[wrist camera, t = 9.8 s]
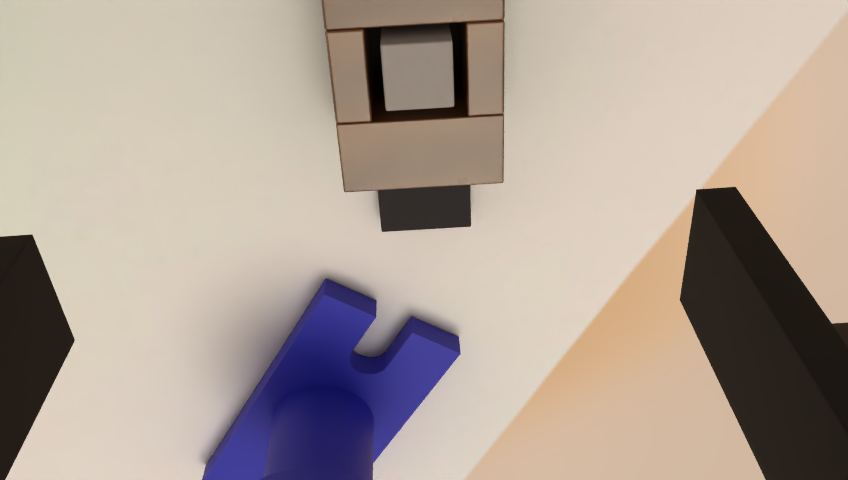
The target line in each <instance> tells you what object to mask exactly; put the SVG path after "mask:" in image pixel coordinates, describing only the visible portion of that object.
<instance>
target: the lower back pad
mask: <svg viewBox="0 0 848 480" xmlns="http://www.w3.org/2000/svg"><path fill="white" fill-rule="evenodd" d="M370 35H371V47H372V58H373V69H374V80H383V85H384V97H385V109H386V110H387V111H394V110H411V109H428V108H445V107H454V76H458V75H460V59H459V23H444V24H427V25H410V26H393V27H376V28H370ZM378 197H379V207H380V218H381V229H382V232H387V231H403V230H420V229H437V228H454V227H470V226H471V207H470V185H458V186H441V187H424V188H407V189H390V190H378Z"/></svg>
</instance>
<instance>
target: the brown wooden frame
mask: <svg viewBox="0 0 848 480" xmlns="http://www.w3.org/2000/svg"><path fill="white" fill-rule="evenodd" d="M321 1H322V9H323V18H324V26H325V29H326V32H325V34H326V43H327V51H328V59H329V68H330V76H331V85H332V93H333V102H334V110H335V118H336V122H337V123H336V128H337V136H338V144H339V153H340V161H341V170H342V178H343V186H344V192H356V191H373V190H390V189H407V188H424V187H441V186H458V185H475V184H492V183H503V173H504V114H503V113H504V20H503V19H504V8H505V0H321ZM444 23H459V59H460V75H458V76H454V107H445V108H428V109H411V110H394V111H387V110H386V109H385V97H384V85H383V80H374V69H373V58H372V47H371V35H370V28H376V27H393V26H410V25H427V24H444Z"/></svg>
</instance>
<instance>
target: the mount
mask: <svg viewBox="0 0 848 480" xmlns="http://www.w3.org/2000/svg"><path fill="white" fill-rule="evenodd" d="M376 302H377V301H376V300H373V299H371V298H369V297H366V296H364V295H362V294H360V293H357V292H355V291H353V290H351V289H348V288H346V287H344V286H342V285H339V284H337V283H335V282H333V281H330V280H328V279H326V280H325V281H324V283H323V284H322V286H321V287H320V289H319V291H318V292H317V294H316V295H315V297H314V298H313V300H312V301H311V303H310V305H309V306H308V308H307V309H306V311H305V312H304V314H303V315H302V317H301V319H300V320H299V322H298V323H297V325H296V326H295V328H294V330H293V331H292V333H291V334H290V336H289V337H288V339H287V340H286V342H285V344H284V345H283V347H282V348H281V350H280V351H279V353H278V354H277V356H276V358H275V359H274V361H273V362H272V364H271V365H270V367H269V368H268V370H267V372H266V373H265V375H264V376H263V378H262V379H261V381H260V383H259V384H258V386H257V387H256V389H255V390H254V392H253V393H252V395H251V397H250V398H249V400H248V401H247V403H246V404H245V406H244V407H243V409H242V411H241V412H240V414H239V415H238V417H237V418H236V420H235V422H234V423H233V425H232V426H231V428H230V429H229V431H228V432H227V434H226V436H225V437H224V439H223V440H222V442H221V443H220V445H219V446H218V448H217V450H216V451H215V453H214V454H213V456H212V457H211V459H210V460H209V462H208V464H207V465H206V467H205V471H204V475H203V479H202V480H373V463H374V461H375V460H376V459H377V458H378V456H379V455H380V454H381V453H382V451H383V450H384V449H385V448H386V446H387V445H388V444H389V443H390V441H391V440H392V439H393V438H394V436H395V435H396V434H397V433H398V431H399V430H400V429H401V428H402V426H403V425H404V424H405V423H406V421H407V420H408V419H409V418H410V416H411V415H412V414H413V413H414V411H415V410H416V409H417V408H418V406H419V405H420V404H421V403H422V401H423V400H424V399H425V397H426V396H427V395H428V394H429V392H430V391H431V390H432V389H433V387H434V386H435V385H436V384H437V382H438V381H439V380H440V379H441V377H442V376H443V375H444V374H445V372H446V371H447V370H448V369H449V367H450V366H451V365H452V364H453V362H454V361H455V360H456V359H457V357H458V356H459V355H460V344H459V337H457V336H455V335H453V334H450V333H448V332H446V331H443V330H441V329H439V328H437V327H434V326H432V325H430V324H428V323H425V322H423V321H421V320H419V319H416V318H414V317H411V318H410V320H409V321H408V323H407V324H406V325H405V327H404V328H403V329H402V331H401V332H400V333H399V335H398V336H397V338H396V339H395V340H394V342H393V343H392V344H391V346H390V347H389V348H388V350H387V351H386V352H385V353H384V354H382V355H380V356H378V357H373V358H367V357H363V356H360V355H358V354H357V353H355V352H354V351H353V349H354V348H355V346H356V345H357V343H358V342H359V341H360V339H361V338H362V336H363V335H364V333H365V332H366V331H367V329H368V328H369V326H370V325H371V324H372V322H373V321H374V319H375V318H376Z"/></svg>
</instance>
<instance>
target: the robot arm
mask: <svg viewBox="0 0 848 480" xmlns="http://www.w3.org/2000/svg"><path fill="white" fill-rule="evenodd" d="M680 301H681V303H682V305H683V307H684V310H685V312H686V314H687V316H688V318H689V320H690V322H691V324H692V326H693V328H694V330H695V333H696V334H697V337H698V339H699V341H700V343H701V345H702V347H703V349H704V351H705V354H706V356H707V358H708V360H709V362H710V364H711V366H712V368H713V370H714V372H715V374H716V376H717V379H718V380H719V383H720V385H721V387H722V389H723V391H724V393H725V395H726V397H727V399H728V402H729V404H730V406H731V408H732V410H733V412H734V414H735V416H736V418H737V420H738V423H739V425H740V427H741V429H742V431H743V433H744V435H745V437H746V439H747V441H748V443H749V446H750V448H751V450H752V452H753V454H754V456H755V458H756V460H757V462H758V464H759V466H760V469H761V470H762V473H763V475H764V477H765V479H766V480H848V323H835V324H832V323H831V322H830V321H829V319H828V318H827V316H826V315H825V313H824V312H823V311H822V309H821V308H820V306H819V305H818V304H817V302H816V301H815V299H814V298H813V296H812V295H811V294H810V292H809V291H808V289H807V288H806V286H805V285H804V284H803V282H802V281H801V279H800V278H799V277H798V275H797V274H796V272H795V271H794V269H793V268H792V267H791V265H790V264H789V262H788V261H787V259H786V258H785V257H784V255H783V254H782V252H781V251H780V249H779V248H778V247H777V245H776V244H775V242H774V241H773V240H772V238H771V237H770V235H769V234H768V233H767V231H766V230H765V228H764V227H763V225H762V224H761V222H760V221H759V220H758V219H757V217H756V215H755V214H754V213H753V211H752V210H751V208H750V207H749V205H748V204H747V203H746V201H745V200H744V198H743V197H742V196H741V194H740V193H739V191H738V190H737V188H736V187H728V188H713V189H698V190H696V196H695V203H694V209H693V216H692V223H691V229H690V236H689V243H688V250H687V256H686V262H685V269H684V276H683V282H682V289H681V296H680ZM74 341H75V340H74V337H73V335H72V332H71V330H70V327H69V325H68V322H67V320H66V317H65V315H64V312H63V310H62V307H61V305H60V302H59V300H58V297H57V295H56V292H55V290H54V287H53V285H52V282H51V280H50V277H49V275H48V272H47V270H46V267H45V265H44V262H43V260H42V257H41V255H40V253H39V250H38V248H37V245H36V243H35V240H34V238H33V235H20V236H5V237H0V480H5V479H6V477H7V475H8V473H9V471H10V469H11V467H12V465H13V463H14V461H15V459H16V457H17V455H18V453H19V451H20V449H21V447H22V445H23V443H24V441H25V439H26V437H27V435H28V433H29V431H30V429H31V427H32V425H33V423H34V421H35V419H36V417H37V415H38V413H39V411H40V409H41V407H42V405H43V403H44V401H45V399H46V397H47V395H48V393H49V391H50V389H51V387H52V385H53V383H54V381H55V379H56V377H57V375H58V373H59V371H60V369H61V367H62V365H63V363H64V361H65V359H66V357H67V355H68V353H69V351H70V349H71V347H72V345H73V343H74Z"/></svg>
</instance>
